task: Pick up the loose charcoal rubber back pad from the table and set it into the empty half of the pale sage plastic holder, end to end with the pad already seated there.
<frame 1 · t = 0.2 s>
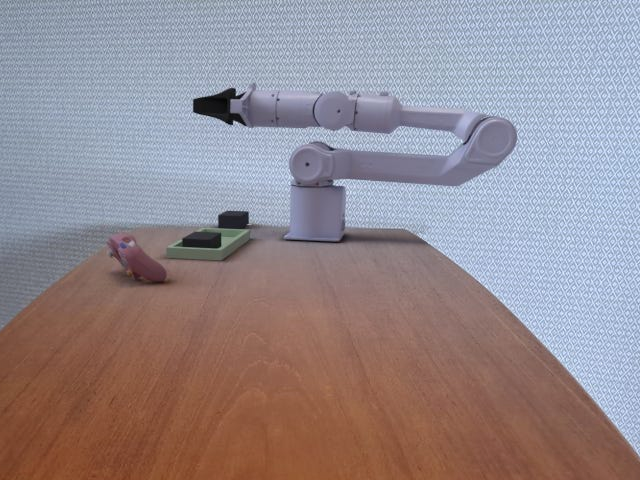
hand: (201, 106, 114), 21 cm above the table, tool horizontal, fingers open, 7 cm apart
pad loose: (233, 225, 128), on the table
pad seated: (202, 250, 104), resting on holder
holder: (211, 247, 109), on the table
video game controller: (136, 278, 91), on the table
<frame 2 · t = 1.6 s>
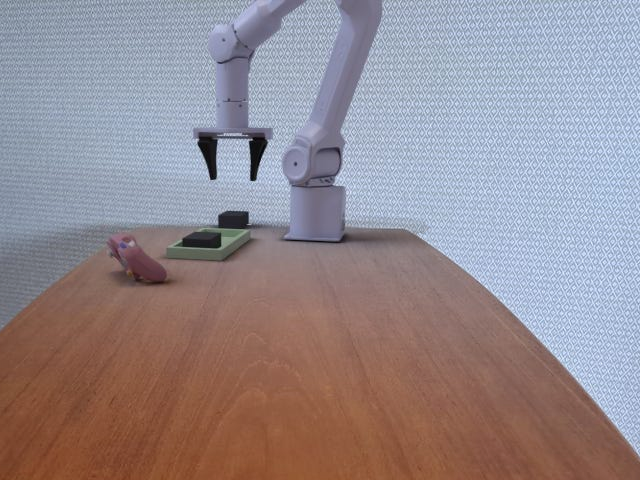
hand: (233, 180, 125), 8 cm above the table, tool pointing down, fingers open, 7 cm apart
nothing on the table moved.
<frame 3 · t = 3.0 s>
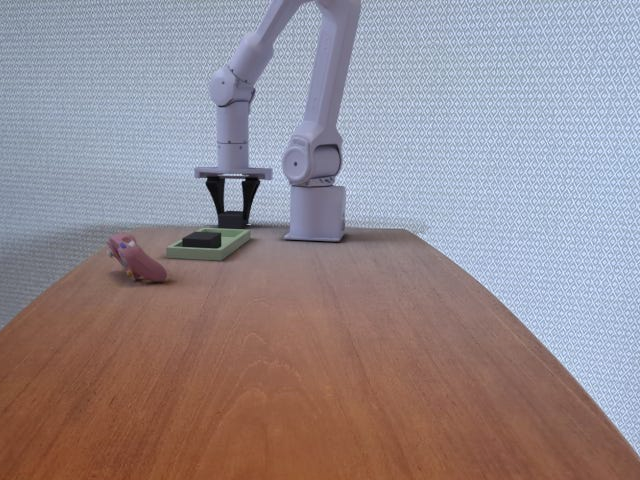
hand: (233, 218, 128), 1 cm above the table, tool pointing down, fingers closed on pad loose, 4 cm apart
pad loose: (233, 225, 128), on the table, touching gripper
everything else where it was.
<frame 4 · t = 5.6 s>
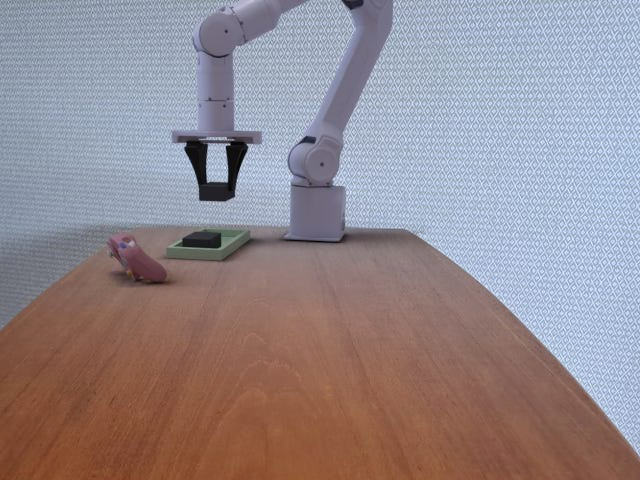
hand: (217, 190, 111), 8 cm above the table, tool pointing down, fingers closed on pad loose, 4 cm apart
pad loose: (217, 199, 111), point 7 cm above the table, touching gripper
everything else where it was.
when the fingers open (2 cm above the table, at t = 8.5 s): pad loose stays where it is, resting on holder.
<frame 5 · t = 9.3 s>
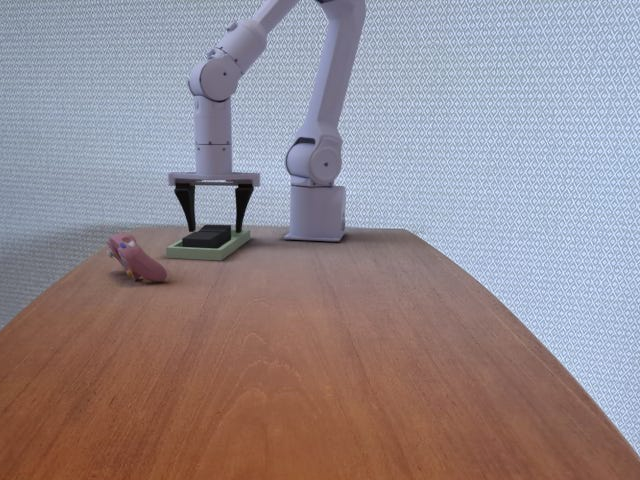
hand: (215, 231, 110), 2 cm above the table, tool pointing down, fingers open, 7 cm apart
pad loose: (215, 242, 111), resting on holder
everything else where it was.
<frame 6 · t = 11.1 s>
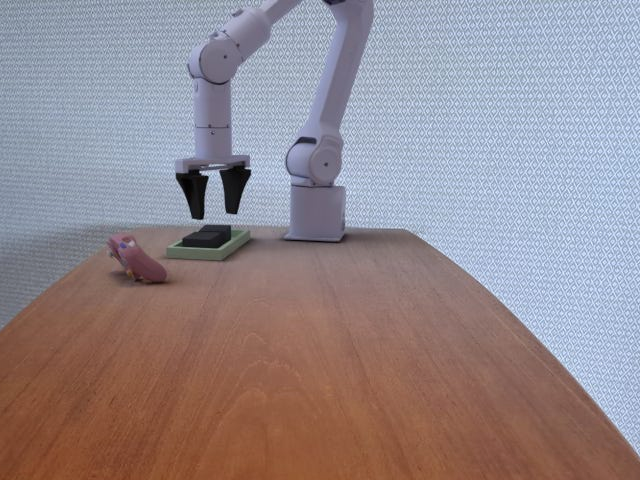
hand: (215, 216, 109), 5 cm above the table, tool pointing down, fingers open, 7 cm apart
nothing on the table moved.
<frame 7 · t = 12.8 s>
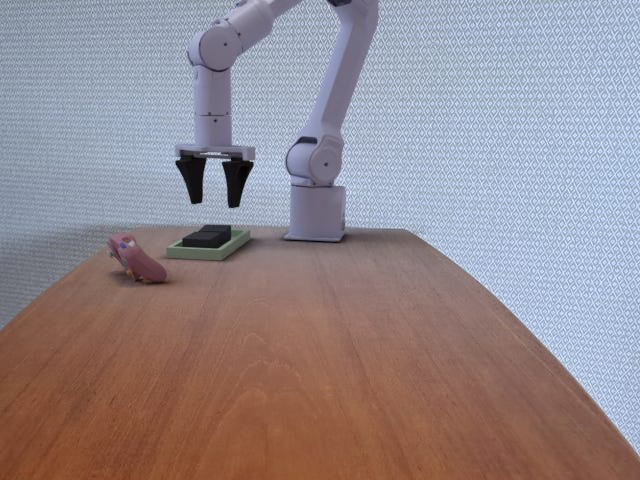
hand: (215, 205, 109), 6 cm above the table, tool pointing down, fingers open, 7 cm apart
nothing on the table moved.
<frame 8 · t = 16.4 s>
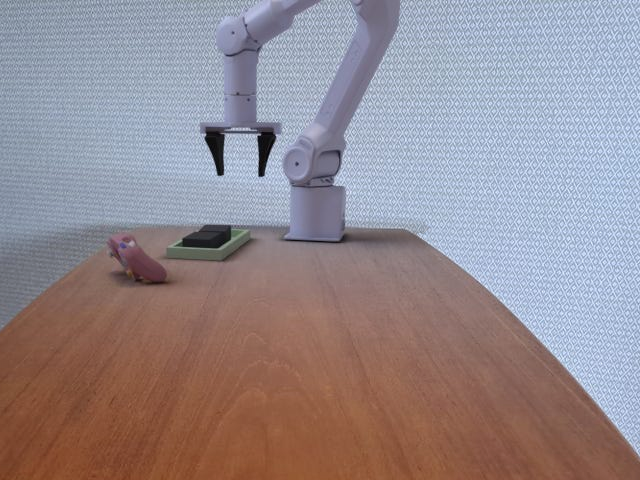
hand: (240, 176, 123), 9 cm above the table, tool pointing down, fingers open, 7 cm apart
nothing on the table moved.
at the end: pad loose 0.5 cm from the target spot in the holder, point 0.4 cm above the holder's base; pad loose 7.0 cm from the pad seated (horizontally); pad loose tilted 0° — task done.
